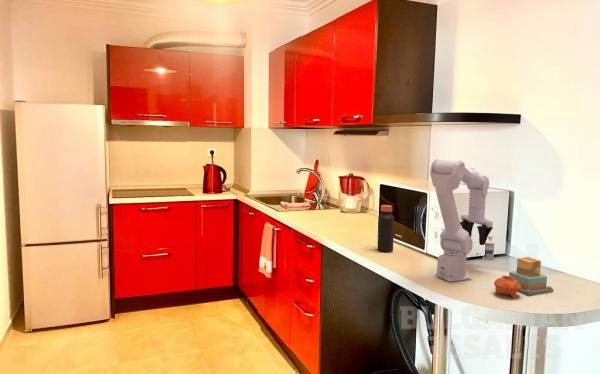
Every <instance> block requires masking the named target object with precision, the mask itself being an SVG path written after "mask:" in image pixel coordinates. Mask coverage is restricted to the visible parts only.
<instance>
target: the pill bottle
mask: <svg viewBox="0 0 600 374" xmlns="http://www.w3.org/2000/svg"><path fill="white" fill-rule="evenodd" d="M488 239H489V241H487V242H486V243H485V255H484V256H483V257H482V258H481V259H483V260H493V259H494V258H495V257H494V255H495V241H494V235H493V236H488ZM492 240H493V241H492Z"/></svg>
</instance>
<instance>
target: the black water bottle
mask: <svg viewBox="0 0 600 374" xmlns="http://www.w3.org/2000/svg"><path fill="white" fill-rule="evenodd" d="M392 213H393V205H391V204H382V205H380V214H379V216H378V217H377V218H378V219H377V251H378V252H380V253H392V252H393V251H394V238H395V237H394V232H395V230H394V229H395V217H394V215H393V214H392Z"/></svg>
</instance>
